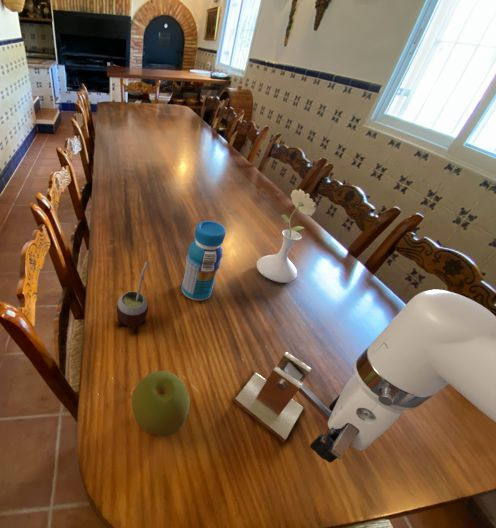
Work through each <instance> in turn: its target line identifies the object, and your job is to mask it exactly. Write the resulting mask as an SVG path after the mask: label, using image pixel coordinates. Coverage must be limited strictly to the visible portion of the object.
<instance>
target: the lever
mask: <svg viewBox="0 0 496 528" xmlns="http://www.w3.org/2000/svg"><path fill="white" fill-rule="evenodd" d="M280 369H281V370H282V371H284V372H285V373H287V374H288V375H290V376H291V377H292V378H294V379H295V380H297V381H298V382H300V383H301V384H302V386H301V387H300V389H299V390H298V391H297V392H298V393H300V395H301V396H302V397H303V398H304V399H305V400H306V401H307V402H308V403H309V404H310V405H311V406H312V407H313V408H314V409H315V410H316V411H317V412H318V413H319V414H320V415H321V416H322V417H323V419H324V420H326V421H327V422H328V420H329V418H330V416H331V414H332V411H331V410H330V409H329V407H327V406H326V405H325V404H324V403H323V402H322V401H321V400H320V399H319V398H318V397H317V395H315V393H313V392H312V391H311V390H310V389H309V388H308V387H307V386H306V385H305V384H304V383H303V381H302V382H301V381H300V379H301V377H302V376H303V375H302V374H301V373H300V372H299V371H298V370H297V369H296V368H295V367H294V366H293V365H292V364H291V363H290V362H289V363H287V364H285V365H283V366H281V367H280ZM343 428H344V426H343V427H342V428H340V429H343ZM338 436H339V435H338V434H337V433H335V432H334V433H333V434H332V435H331V437H330V438H331V439H333V440H334V441H336V439H337V438H338Z"/></svg>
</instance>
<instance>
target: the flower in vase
mask: <svg viewBox="0 0 496 528" xmlns="http://www.w3.org/2000/svg"><path fill="white" fill-rule="evenodd" d="M289 196H290V199H291V201H292V204H293V206H295V209H294V210H293V212H292V213H291V215H290V217H288V216H287V214H281V215H279V216H280V218H282V219H283V220H284V222H285V223H286V224H288V226H289V227H288V228H289V229H283V230H282V232H281V234H282V237H283V239H282V244H281V248H280V249H279V251H278V252H277V253H276V254H268V255H264V256H261V257H260V258H259V259H258V260H257V261H256V269H257V270H258V272H259V274H261V275H262V276H263V277H264V278H266V279H267V280H269V281H272V282H275V283H281V284H286V283H290V282H293V281H294V280H296V279H297V276H298V270H297V268H296V267H295V265H294V264H293V262H292V261H291V260H290V259H289V257H288V255H289V254H290V251H291V249H292V247H293V246H294V244H295V243H296V242H298V241H300V240H302V238H303V236H302V234H301V233H300V232H298V231H301V230H303V229H305V226H300V225H299V226H298V225H297V226H293V227H292V226H291V224H292V223H291V220H292V217H293V215H294V214H295V213H296V212H297V210H298V212H300V213H301V214H303V215H305V216H310V217H313V215H315V213H316V210H317V207H315V206H316V202H314V199H313V198H310V196H311V195H310V194H309V193H305V191H304V190H302V189H301V188H299V189H294V190H293V189H292V190H291V193H290V195H289Z"/></svg>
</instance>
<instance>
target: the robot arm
mask: <svg viewBox="0 0 496 528" xmlns="http://www.w3.org/2000/svg"><path fill="white" fill-rule="evenodd" d="M353 369H354V374H353V375H352V376H351V377H350V379H349V380H348V381H347V382H346V384H345V386H344V387H343V389H342V391H341V392H340V394H339V395H337V397H336V398H335V399H334V400H333V401H332V402H331V403H330V404H329V407H328V409H329V410H330V411H331V412H332V414H331V416H330V418H329V420H328V421H327V427H328V429H327V430H326V431H325V433H324V434H323V433H320V434H319V435H318V436H317V437H316V438H315V439H314V440H313V441H312V442H311V443H310V445H309V448H310V449H312V450H313V452H315V453H316V455H318V456H319V457H320V458H321V459H322V460H325V461H326V462H328V463H333V462H334V461H335V460H337V459H338V460H341V459H342V458H343V456H344V454H345V453H346V451H347V450H348V448H349V447H350V445H351V444H352V447H353V449H355V450H357V451H359V452H362V451H365V449H367V448H368V447H369V446H371V445H372V444H373V443H374V442H375V441H377V440H378V439H379V438H380V437H381V436H382V435H383V434H385V432H387V430H389V428H391V427H392V426H393V424H394V423H395V422H396V421H397V420H398V419H399V418H400V416H401V415H402V413H403V412H404V411H413V410H415V409H417V408H419V406H421V405H422V404H424V403H425V402H426V401H428V400H429V399H431V398H432V397H433V396H435V395H436V394H437V393H439V392H440V391H441V390H443V389H444V388H445V387H447V386H448V385H449V386H451V387H452V388H453V389H454V390H455V391H457V392H458V393H459V394H460V395H462V397H463V398H465V399H466V400H467V401H468V402H469V403H471V404H472V405H473V406H474V407H475V408H476V409H478V410H479V411H480V412H481V413H482V414H483V415H484V416H486V417H487V418H489V419H490V420H491V421H492V422H494V423H495V424H496V315H495V314H494V313H492V312H491V311H490V310H489V309H488V308H486V307H484V306H483V305H482V304H480V303H478V302H477V301H475V300H473V299H471V298H469V297H466V296H464V295H461V294H459V293H455V292H452V291H448V290H443V289H429V290H424V291H422V292H419V293H417V294H416V295H414V296H413V297H411V299H410V300H409V301H408V302H406V304H405V305H404V306H403V307H402V309H401V310H400V311H399V312H398V313H397V314H396V315H395V316H394V317H393V319H392V320H391V321H390V322H389V324H388V325H386V327H385V328H384V329H383V330H381V332H380V333H379V334H378V335H377V337H376V338H375V339H373V341H372V342H371V343H370V344H369V345H368V346H367V348H366V349H364V350H363V352H362V353H361V354H360V355H359V356H358V357H357V359H356V360H355V361H354V363H353ZM343 426H344V428H343V429H340V428H342V427H343ZM334 432H335V433H337V434H338V435H339V436H338V438H337V439H336V441H334V440H333V439H331V438H330V437H331V435H332V434H333V433H334Z"/></svg>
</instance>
